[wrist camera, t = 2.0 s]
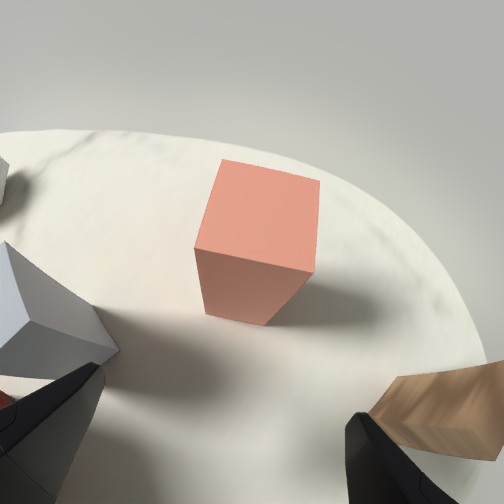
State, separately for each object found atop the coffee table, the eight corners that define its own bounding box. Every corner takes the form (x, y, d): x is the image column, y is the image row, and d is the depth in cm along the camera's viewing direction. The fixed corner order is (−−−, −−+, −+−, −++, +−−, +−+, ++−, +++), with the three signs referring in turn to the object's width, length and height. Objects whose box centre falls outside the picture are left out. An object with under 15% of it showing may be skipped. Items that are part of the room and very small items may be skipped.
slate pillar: (81, 380, 19) (-22, 371, 7) (55, 334, 20) (-43, 292, 8) (120, 350, 20) (29, 320, 9) (91, 304, 22) (4, 240, 10)
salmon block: (263, 325, 23) (313, 272, 11) (205, 313, 23) (194, 247, 11) (272, 271, 25) (319, 181, 13) (218, 260, 25) (222, 159, 13)
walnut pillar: (393, 443, 19) (494, 461, 7) (365, 416, 20) (472, 429, 9) (421, 404, 21) (523, 399, 9) (396, 376, 22) (503, 360, 10)
